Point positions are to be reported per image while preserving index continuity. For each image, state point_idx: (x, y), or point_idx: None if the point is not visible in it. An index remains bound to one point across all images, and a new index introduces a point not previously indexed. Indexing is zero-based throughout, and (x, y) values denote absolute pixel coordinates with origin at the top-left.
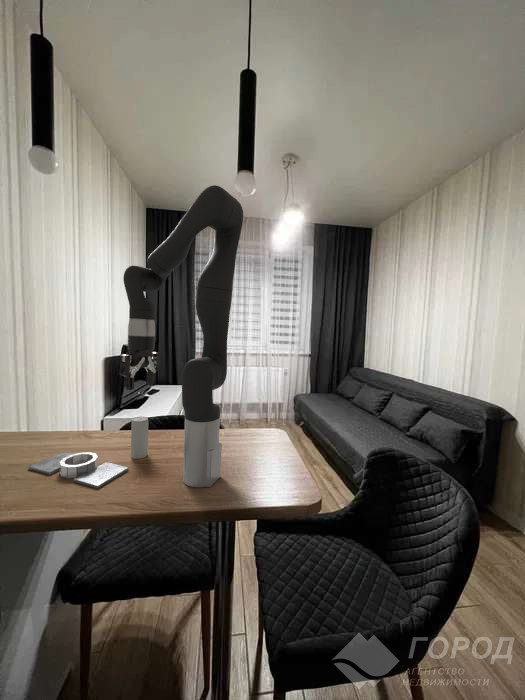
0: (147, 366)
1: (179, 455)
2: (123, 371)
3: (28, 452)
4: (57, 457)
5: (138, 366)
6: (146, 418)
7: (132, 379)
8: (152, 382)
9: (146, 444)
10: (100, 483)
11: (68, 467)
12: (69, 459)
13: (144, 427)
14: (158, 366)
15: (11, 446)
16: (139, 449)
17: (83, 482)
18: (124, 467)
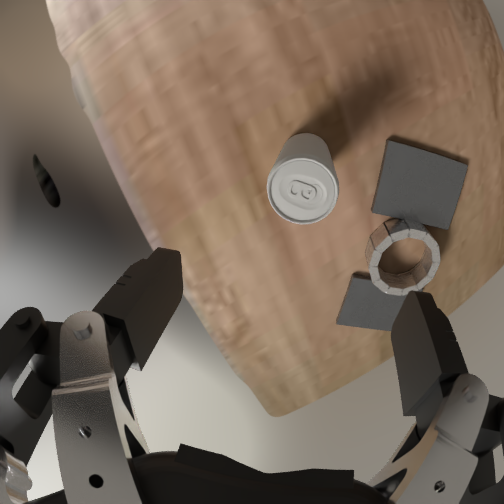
0: (133, 438)
1: (261, 47)
2: (488, 451)
3: (337, 367)
4: (363, 318)
5: (432, 492)
6: (282, 170)
7: (453, 359)
8: (165, 258)
9: (305, 137)
10: (460, 165)
11: (439, 259)
12: (397, 285)
13: (317, 153)
14: (5, 338)
15: (319, 393)
16: (327, 148)
17: (455, 203)
18: (391, 150)
